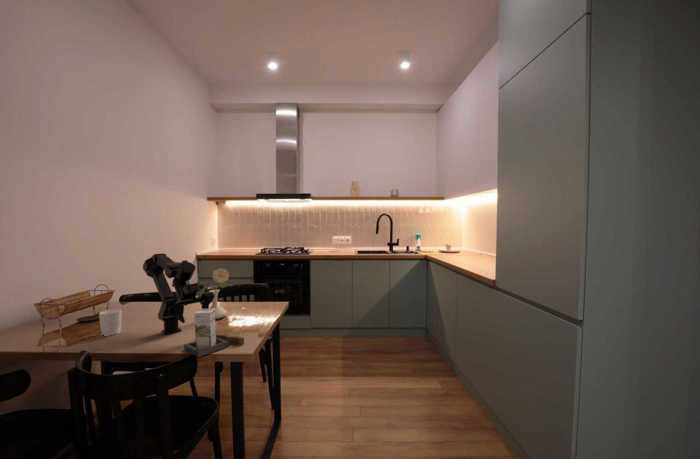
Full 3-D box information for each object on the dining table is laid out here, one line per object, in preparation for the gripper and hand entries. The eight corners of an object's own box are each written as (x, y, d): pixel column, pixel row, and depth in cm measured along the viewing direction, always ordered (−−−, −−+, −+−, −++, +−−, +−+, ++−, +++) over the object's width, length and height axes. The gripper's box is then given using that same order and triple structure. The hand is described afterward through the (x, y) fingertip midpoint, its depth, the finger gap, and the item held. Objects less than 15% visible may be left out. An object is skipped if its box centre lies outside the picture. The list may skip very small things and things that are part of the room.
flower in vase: (200, 322, 148) (198, 271, 147) (205, 315, 159) (203, 267, 158) (229, 319, 151) (227, 269, 151) (232, 313, 162) (230, 266, 162)
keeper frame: (184, 349, 115) (183, 344, 115) (213, 340, 123) (213, 335, 123) (198, 357, 107) (197, 351, 107) (228, 346, 116) (228, 341, 116)
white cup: (126, 332, 137) (125, 309, 137) (106, 338, 130) (105, 314, 130) (116, 330, 141) (115, 308, 140) (96, 335, 133) (95, 313, 133)
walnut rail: (204, 338, 126) (204, 332, 126) (207, 337, 127) (207, 331, 127) (241, 345, 117) (240, 338, 117) (244, 343, 119) (243, 337, 119)
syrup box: (216, 344, 119) (215, 307, 119) (211, 350, 113) (209, 311, 113) (201, 345, 118) (199, 308, 118) (195, 352, 112) (193, 312, 112)
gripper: (163, 279, 116) (176, 313, 109) (211, 272, 130) (226, 302, 123) (156, 297, 121) (168, 330, 114) (203, 288, 135) (216, 317, 129)
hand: (196, 319), depth 120 cm, fingers open, 9 cm apart
